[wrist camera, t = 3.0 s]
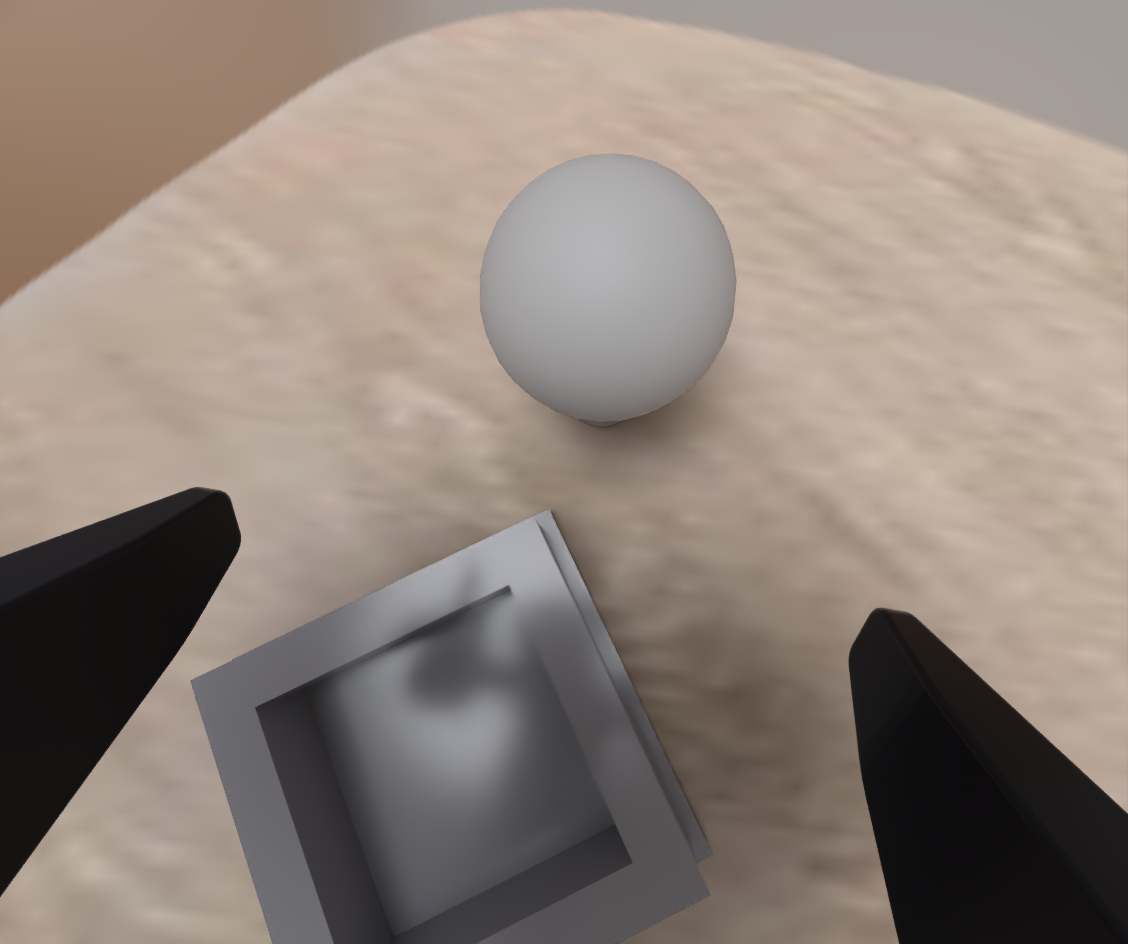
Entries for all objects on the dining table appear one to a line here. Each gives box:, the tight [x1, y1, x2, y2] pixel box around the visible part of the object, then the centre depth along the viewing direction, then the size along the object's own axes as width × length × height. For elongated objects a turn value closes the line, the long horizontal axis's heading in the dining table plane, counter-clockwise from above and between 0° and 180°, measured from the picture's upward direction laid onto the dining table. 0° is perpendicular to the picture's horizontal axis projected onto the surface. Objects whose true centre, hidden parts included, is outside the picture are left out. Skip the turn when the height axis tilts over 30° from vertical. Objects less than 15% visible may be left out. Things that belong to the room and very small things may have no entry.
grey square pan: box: [191, 509, 712, 944], centre depth 17 cm, size 21×12×4 cm, turn 25°
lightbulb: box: [480, 154, 736, 427], centre depth 16 cm, size 6×6×11 cm
